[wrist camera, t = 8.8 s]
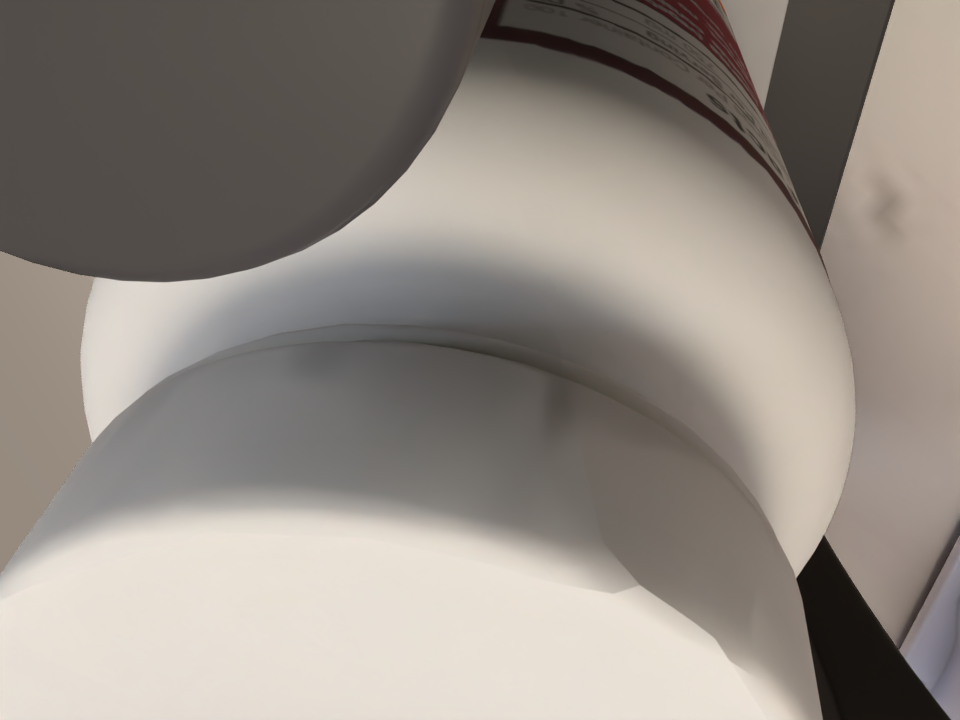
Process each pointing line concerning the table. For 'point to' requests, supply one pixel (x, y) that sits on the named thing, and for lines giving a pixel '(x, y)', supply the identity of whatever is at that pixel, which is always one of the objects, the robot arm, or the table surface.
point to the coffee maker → (310, 118)
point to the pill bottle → (471, 425)
